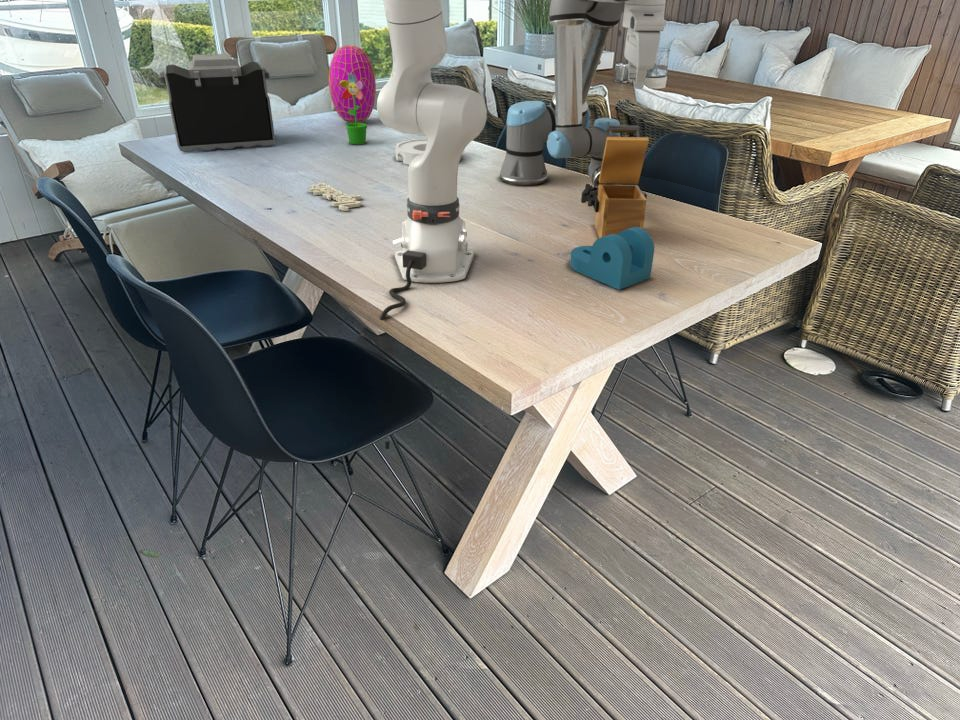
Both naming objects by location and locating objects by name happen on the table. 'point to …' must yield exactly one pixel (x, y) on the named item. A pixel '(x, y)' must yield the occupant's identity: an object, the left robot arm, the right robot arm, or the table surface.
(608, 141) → the lid
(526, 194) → the table surface
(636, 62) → the left robot arm
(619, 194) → the chest
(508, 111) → the right robot arm
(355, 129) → the potted flower
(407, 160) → the ashtray
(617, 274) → the blue clevis bracket
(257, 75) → the electronic device
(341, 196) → the decorative sign
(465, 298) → the table surface
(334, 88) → the decorative egg
